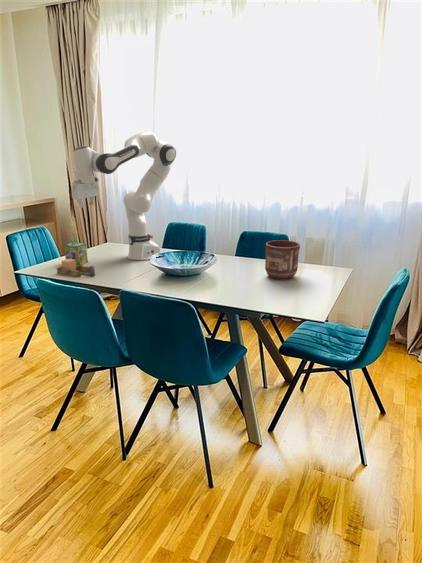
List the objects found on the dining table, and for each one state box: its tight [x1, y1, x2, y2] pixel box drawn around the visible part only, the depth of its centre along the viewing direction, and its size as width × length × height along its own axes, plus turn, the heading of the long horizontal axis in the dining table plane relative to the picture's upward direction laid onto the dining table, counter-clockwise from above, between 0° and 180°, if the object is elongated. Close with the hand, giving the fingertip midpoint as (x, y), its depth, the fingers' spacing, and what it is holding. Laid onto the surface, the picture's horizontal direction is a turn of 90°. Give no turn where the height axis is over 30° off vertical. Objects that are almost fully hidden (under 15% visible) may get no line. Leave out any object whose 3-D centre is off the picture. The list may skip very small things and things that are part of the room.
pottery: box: [264, 239, 301, 280], centre depth 218 cm, size 18×18×18 cm
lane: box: [56, 265, 90, 278], centre depth 224 cm, size 15×9×3 cm, turn 66°
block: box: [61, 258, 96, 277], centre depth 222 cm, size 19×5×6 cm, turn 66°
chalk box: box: [63, 237, 89, 266], centre depth 240 cm, size 9×9×15 cm
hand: (86, 206), depth 219 cm, fingers open, 8 cm apart
